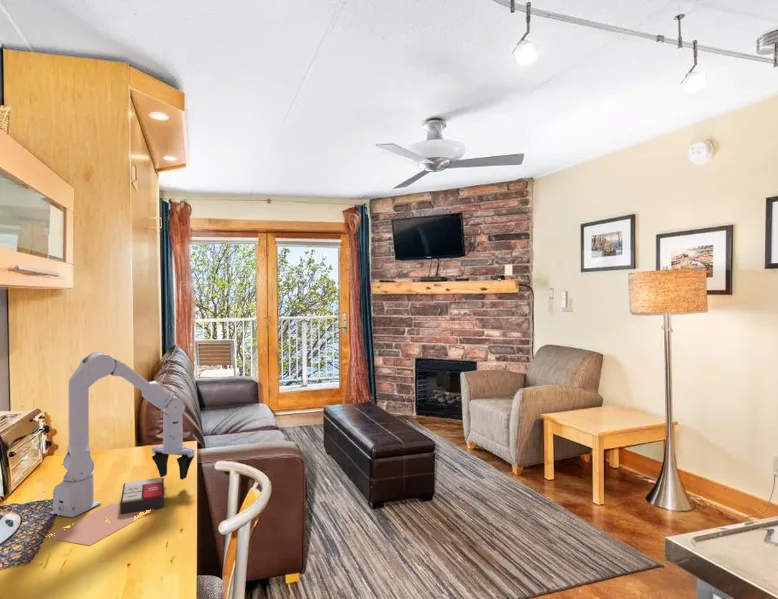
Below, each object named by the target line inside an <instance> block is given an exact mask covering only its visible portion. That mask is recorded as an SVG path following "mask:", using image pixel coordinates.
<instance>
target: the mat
mask: <svg viewBox="0 0 778 599" xmlns="http://www.w3.org/2000/svg"><path fill="white" fill-rule="evenodd" d="M140 512H144V513H145V512H146V510H144V511H138V512H131V513H125V514H120V504H116V503H109V504H107V505H106V506H104V507H102V508H100V509H98V510H95V511H93V512H92V513H89V514H88V515H85V516H83V517H81V518H79V519H77V520H75V521H73V522H74V524H73V525H72V524H71V523H70V524H71V526H70V528H62V527H61V528H58V529H59V530H58V529H57V530H54V531H55V532H54V531H52V532H50V533H49V534H51V533H52V534H53V535H52V536H51V535H49V536H50V537H49V536H48V534H46V535H47V537H46V538H45V539H47V538H49V540H53V539H56V540H55V541H59V540H61V541H60V542H64V541H66V542H65V543H70V542H71V543H70V544H74V545H75V544H76V545H81V544H82V546H88V547H91V546H93V545H94V544H96V543H98V542H100V541H101V539H102V540H104V539H106V538H107V537H109V536H111V535H112V534H114V533H116V532H117V531H119V530H121V528H122V529H124V528H125V527H127V526H129V525H130V523H131V524H133V523H134V522H133V520H134V516H136V517H137V515H139V513H140ZM106 517H107V518H106ZM110 517H111V518H110ZM107 519H108V520H109V521H110V523H108V522H109V521H107V522H105V521H106V520H107ZM128 524H129V525H128ZM64 529H65V530H64ZM54 533H55V534H54ZM54 535H55V536H54ZM92 544H93V545H92ZM90 545H91V546H90Z"/></svg>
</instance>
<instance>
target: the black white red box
mask: <svg viewBox="0 0 778 599" xmlns="http://www.w3.org/2000/svg"><path fill="white" fill-rule="evenodd" d="M164 479H165V478H164V477H155V478H147V479H141V480H133V481H126V482H124V483H123V485H122V490H121V491H122V492H121V498H120V504H119V505H120V514H125V513H131V512H138V511H144V510H150V509H152V510H155V509H162V508H164V506H165V489H164V488H165V486H164V485H165V480H164Z"/></svg>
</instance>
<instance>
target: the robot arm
mask: <svg viewBox="0 0 778 599" xmlns="http://www.w3.org/2000/svg"><path fill="white" fill-rule="evenodd" d="M109 375H111V376H112V377H120V378H122V379H123V380H125V381H127V382H129V383H130V384H131V385H133V386H135V388H138V389H139V390H140V391H141V397H142V398H144V399H145V400H147V401H148V402H149V403H151V404H152V405H153V406H155V407H157V408H158V409H160V410H161V412H162V418H163V420H162V445H154V446H152V448H151V453H152V454H154V455H152V456H151V459H152V461H153V462H154V464H155V465H156V467H157V471H158V474H159V476H160V477H159V478H164V477H166V476H167V474H168V461H169V456H170V455H174V456H180V457H177V458H176V462H177V464H178V467H179V468H178V469H179V479H180V480H184V479H187V475H188V473H189V472H188V471H189V470H190V466H191V464H192V461H193V460H194V458H195V449H194V448H190V447H188V446H187V447H186V446H185V445H184V439H183V438H184V437H183V432H184V430H183V428H184V427H183V426H184V425H183V424H184V423H183V413H184V412H185V410H186V405H185V403H184V400H183V399H181V398H180V397H177V396H176V395H175V394H176V393H175V392H173V391H170V390H168V389H167V388H166V387H164V384H163V383H162V382H161V381H158V382H157V381H156V380H153V381H148V380H147V379H146V378H144V377H143V376H142V375H140V374H139V373H137V372H136V371H135V370H134V369H132V368H131V367H130V366H128V365H127V364H126V363H124V362H122V361H120V360H118V359H116V358H114V357H113V356H111V355H109V354H105V353H104V352H101V351H94V352H91V353H89V354H88V355H86V356H85V357H84V358H82V359H81V361H80V362H79V365H78V367H76V369H75V370H74V372H73V374H72V375H71V376H70V377H69V378H70V379H69V380H68V445H67V447H66V450H67V451H66V455H65V457H64V458H63V461H62V462H63V464H62V465H63V467H64V469H66V473H65V474H64V476H63V480H62V481H61V482H60V483H59V484H57V485H55V486H54V488H53V490H52V511H51V512H50V514H51V513H52V514H51V515H54V514H57V515H56V516H60V515H61V516H62V517H68V518H74V517H76V516H79V515H80V514H83V513H84V512H87V511H90V510H91V509H93V508H95V507H98V506H99V505H101V504H102V502H101V501H97V500H96V501H95V499H94V493H95V492H94V489H95V488H94V472H93V471H94V470H95V462H94V461H93V459H92V457H91V449H90V444H89V442H90V441H89V440H90V438H89V436H90V435H89V434H90V432H89V431H90V430H89V427H90V426H89V424H90V423H89V421H90V420H89V417H90V416H89V415H90V414H89V411H90V409H89V407H90V406H89V402H90V401H89V399H90V398H89V391H90V390H89V388H90V387H91V386H93V385H94V384H95V383H96V382H97V381H98V380H100V379H103V378H105V377H107V376H109ZM61 516H60V517H61Z"/></svg>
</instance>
